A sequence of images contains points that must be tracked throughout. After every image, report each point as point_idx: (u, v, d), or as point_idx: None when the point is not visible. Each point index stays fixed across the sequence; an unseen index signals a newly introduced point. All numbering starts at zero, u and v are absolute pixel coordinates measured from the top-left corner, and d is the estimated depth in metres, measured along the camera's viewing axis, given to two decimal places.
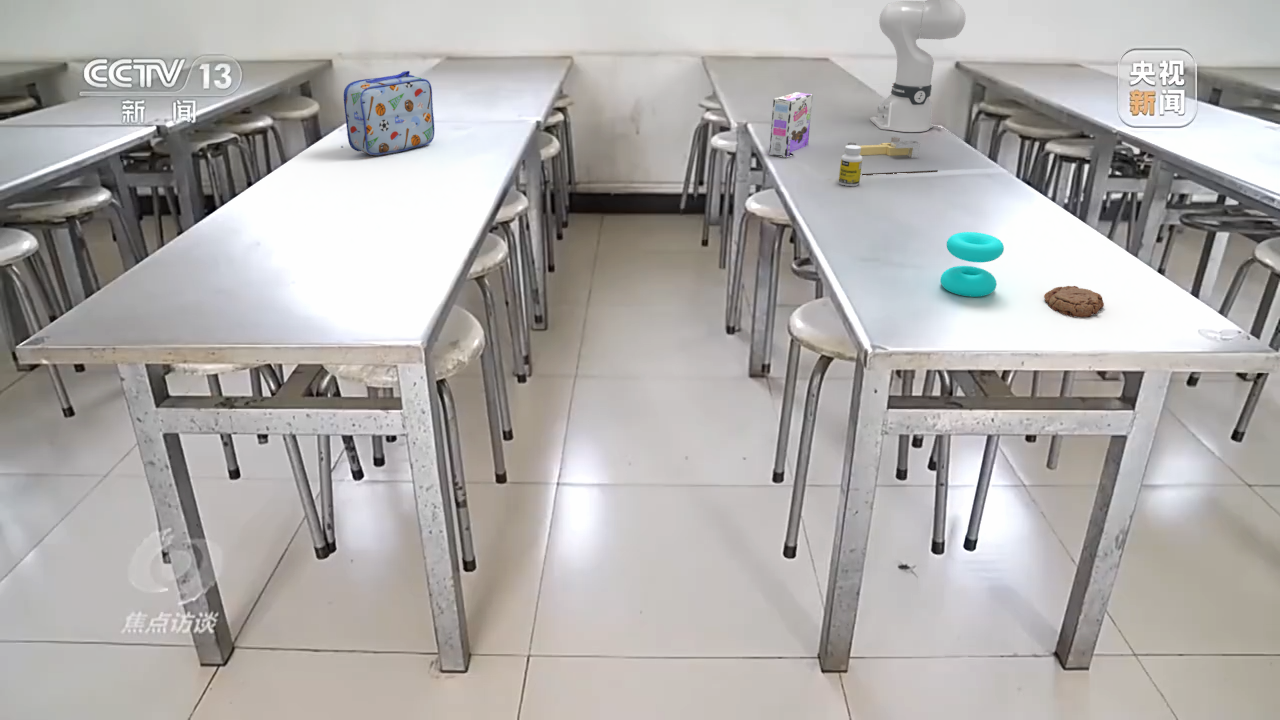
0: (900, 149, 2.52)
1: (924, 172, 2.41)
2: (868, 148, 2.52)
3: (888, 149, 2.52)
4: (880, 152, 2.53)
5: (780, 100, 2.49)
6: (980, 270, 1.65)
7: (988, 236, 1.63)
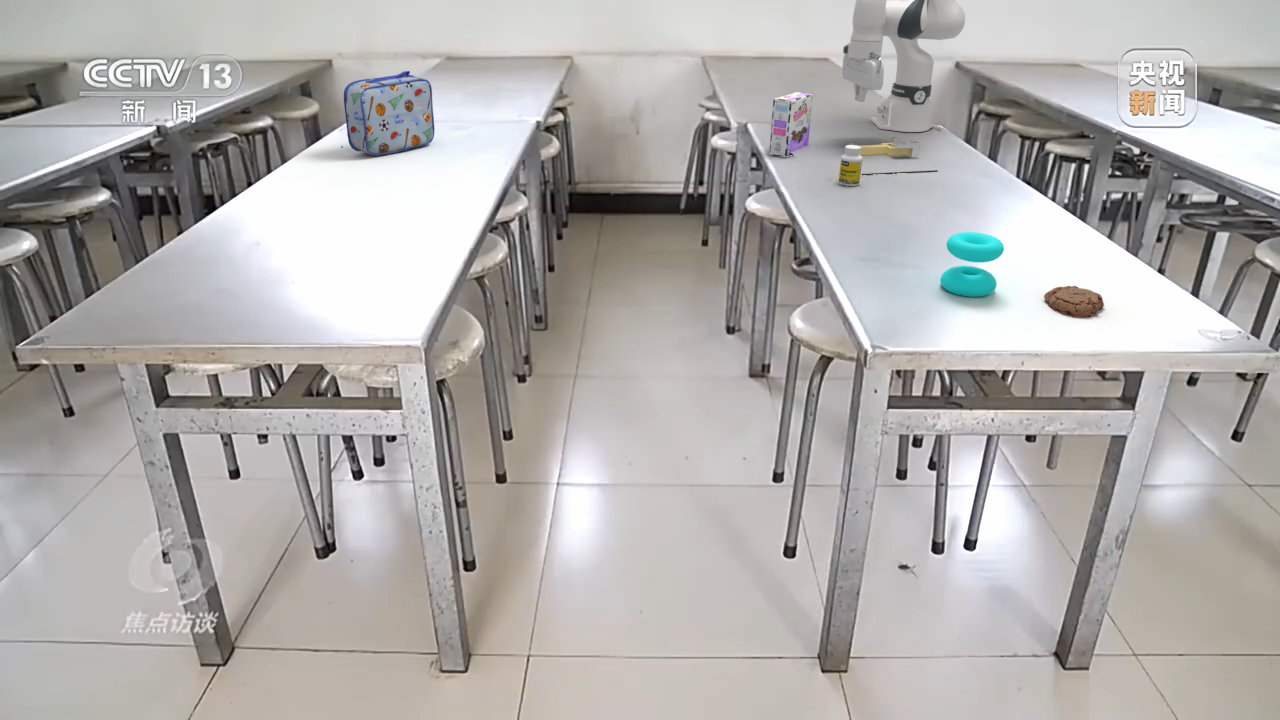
0: (900, 149, 2.52)
1: (924, 172, 2.41)
2: (868, 148, 2.52)
3: (888, 149, 2.52)
4: (880, 152, 2.53)
5: (780, 100, 2.49)
6: (980, 270, 1.65)
7: (988, 236, 1.63)
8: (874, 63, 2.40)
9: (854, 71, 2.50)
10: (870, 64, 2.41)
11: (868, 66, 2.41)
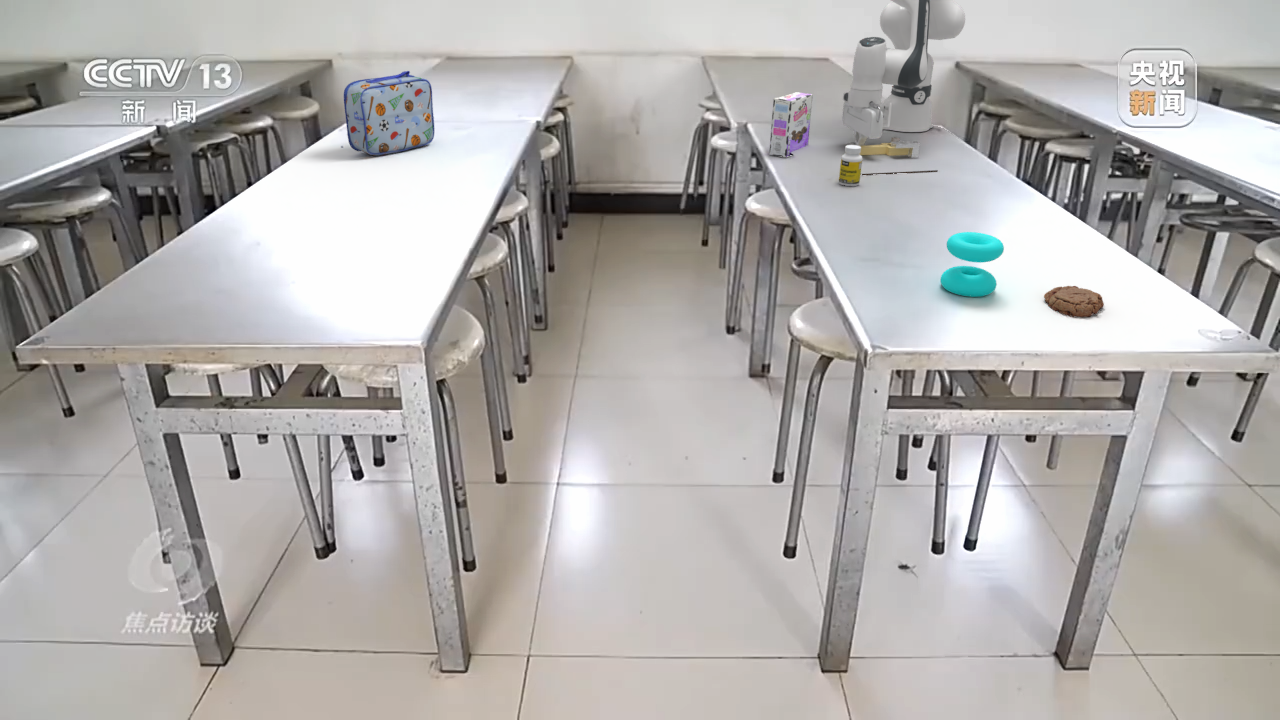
0: (900, 149, 2.52)
1: (924, 172, 2.41)
2: (868, 148, 2.52)
3: (888, 149, 2.52)
4: (880, 152, 2.53)
5: (780, 100, 2.49)
6: (980, 270, 1.65)
7: (988, 236, 1.63)
8: (873, 112, 2.42)
9: (854, 118, 2.53)
10: (869, 113, 2.43)
11: (868, 115, 2.44)
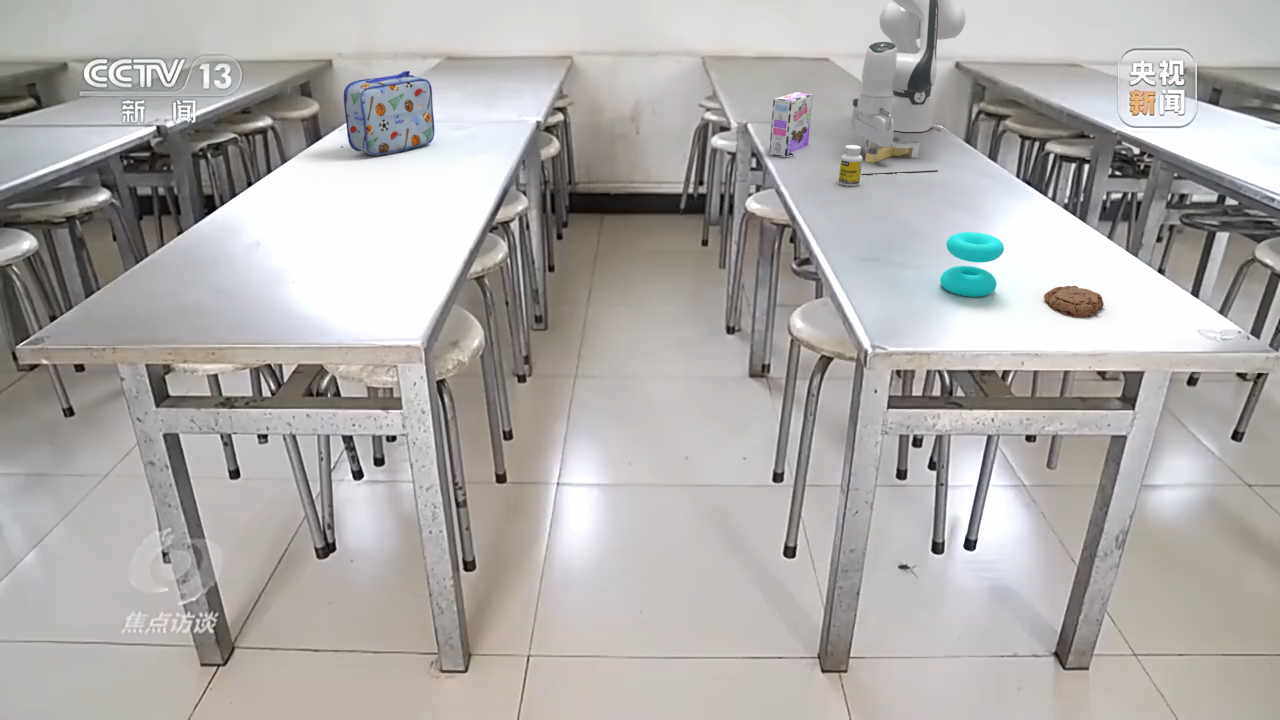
0: (904, 148, 2.53)
1: (924, 172, 2.41)
2: (883, 152, 2.48)
3: (897, 150, 2.51)
4: (889, 154, 2.51)
5: (780, 100, 2.49)
6: (980, 270, 1.65)
7: (988, 236, 1.63)
8: (884, 120, 2.36)
9: (864, 124, 2.47)
10: (879, 121, 2.37)
11: (878, 122, 2.38)
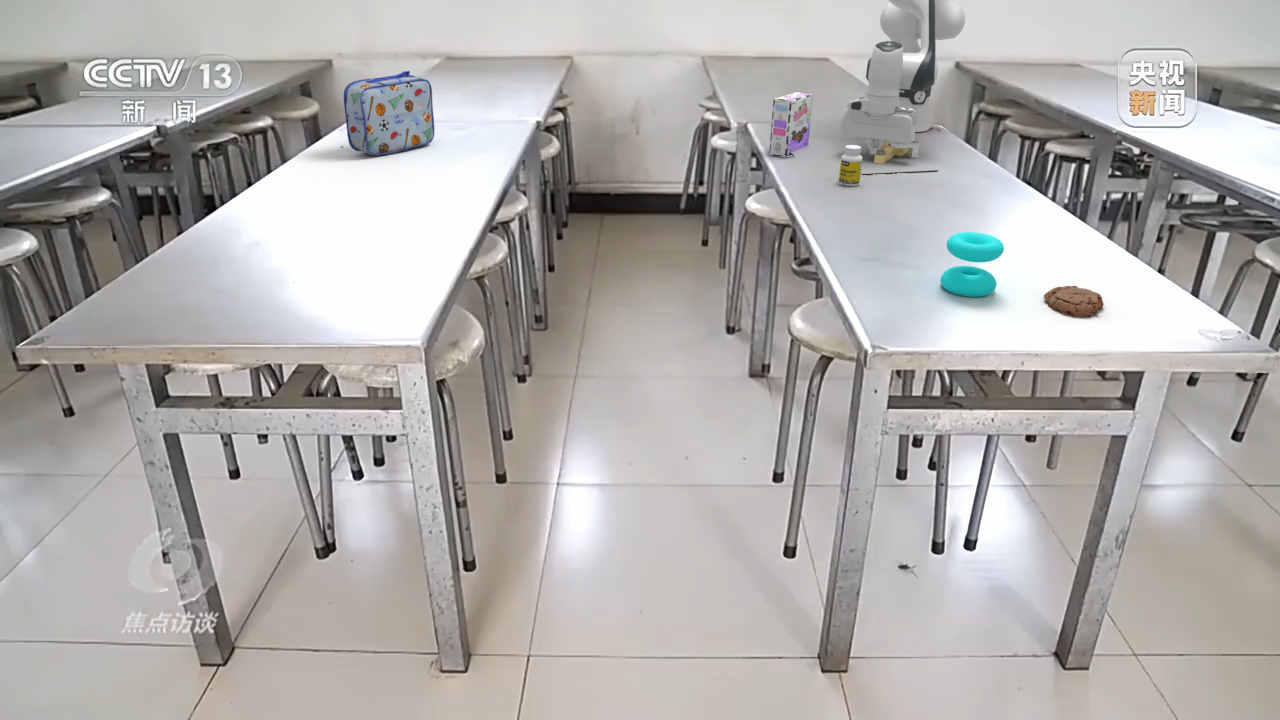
0: (905, 148, 2.53)
1: (924, 172, 2.41)
2: (889, 152, 2.47)
3: (899, 150, 2.51)
4: (893, 154, 2.51)
5: (780, 100, 2.49)
6: (980, 270, 1.65)
7: (988, 236, 1.63)
8: (909, 117, 2.37)
9: (869, 126, 2.44)
10: (904, 119, 2.38)
11: (902, 120, 2.38)
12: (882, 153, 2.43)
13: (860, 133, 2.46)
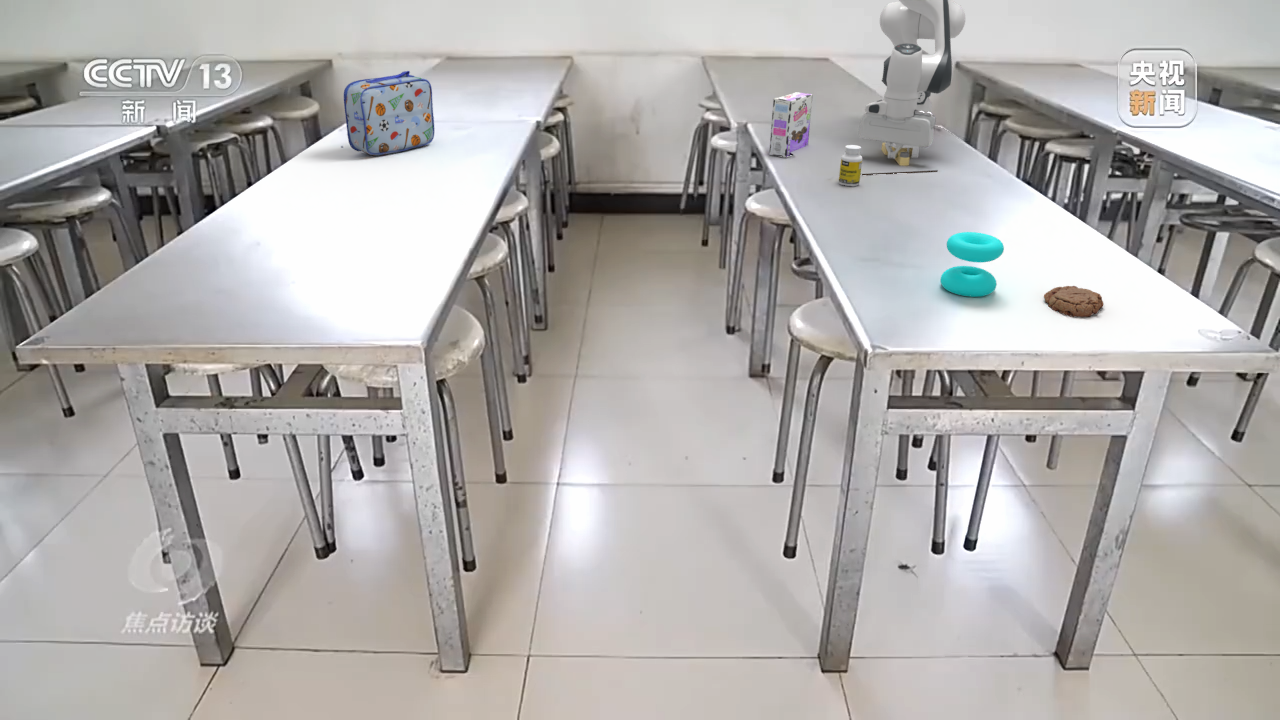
0: None
1: (924, 172, 2.41)
2: None
3: (904, 149, 2.52)
4: None
5: (780, 100, 2.49)
6: (980, 270, 1.65)
7: (988, 236, 1.63)
8: (928, 120, 2.35)
9: (887, 129, 2.41)
10: (923, 122, 2.35)
11: (921, 124, 2.36)
12: (908, 155, 2.41)
13: (878, 136, 2.44)
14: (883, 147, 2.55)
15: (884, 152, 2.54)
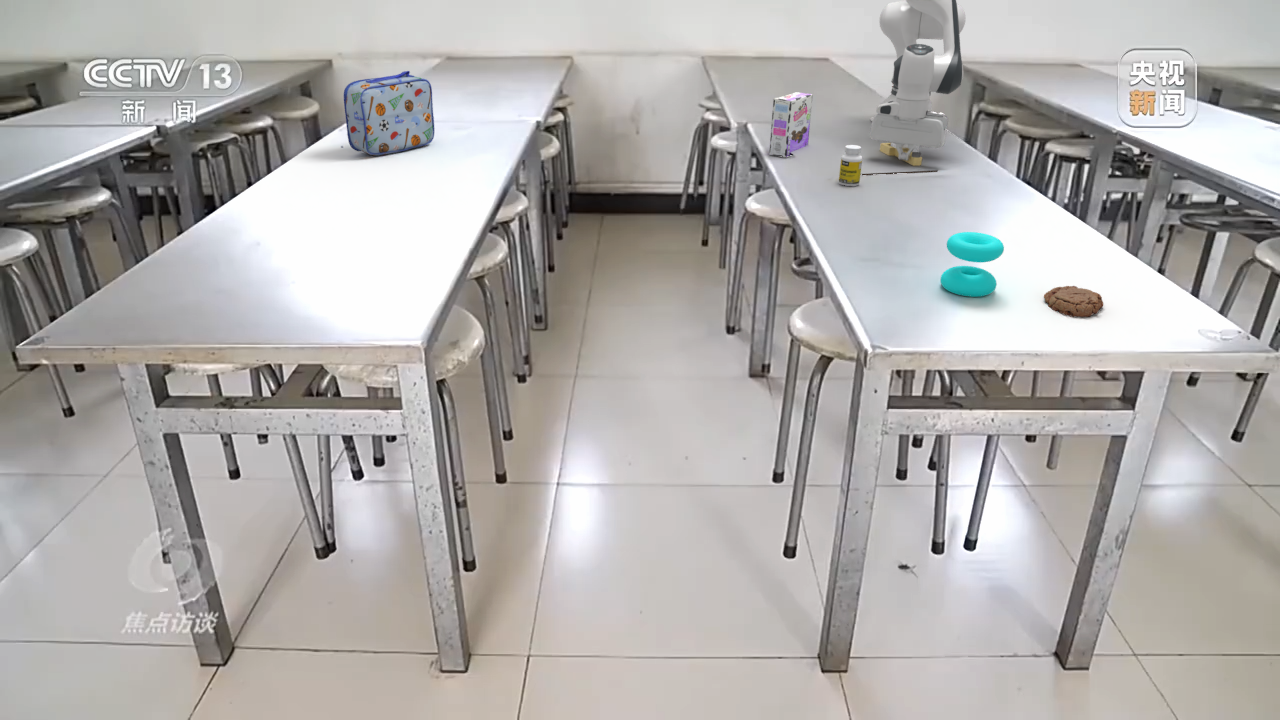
0: None
1: (924, 172, 2.41)
2: None
3: (906, 149, 2.52)
4: None
5: (780, 100, 2.49)
6: (980, 270, 1.65)
7: (988, 236, 1.63)
8: (940, 121, 2.33)
9: (899, 130, 2.40)
10: (935, 123, 2.34)
11: (933, 125, 2.34)
12: (920, 154, 2.41)
13: (889, 137, 2.42)
14: (883, 148, 2.55)
15: (886, 153, 2.53)
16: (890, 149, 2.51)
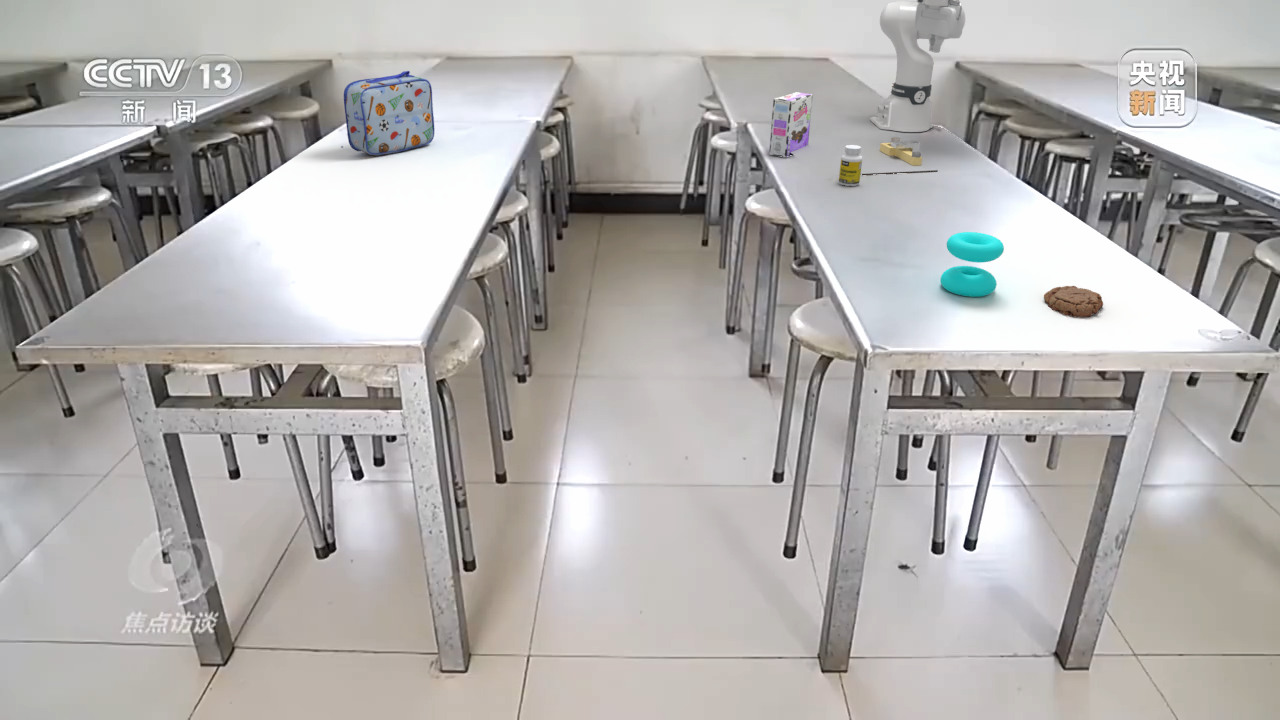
0: None
1: (924, 172, 2.41)
2: None
3: (906, 149, 2.52)
4: None
5: (780, 100, 2.49)
6: (980, 270, 1.65)
7: (988, 236, 1.63)
8: (954, 9, 2.31)
9: (929, 20, 2.41)
10: (949, 11, 2.32)
11: (947, 13, 2.32)
12: (920, 154, 2.41)
13: (924, 28, 2.45)
14: (883, 148, 2.55)
15: (886, 153, 2.53)
16: (890, 149, 2.51)
